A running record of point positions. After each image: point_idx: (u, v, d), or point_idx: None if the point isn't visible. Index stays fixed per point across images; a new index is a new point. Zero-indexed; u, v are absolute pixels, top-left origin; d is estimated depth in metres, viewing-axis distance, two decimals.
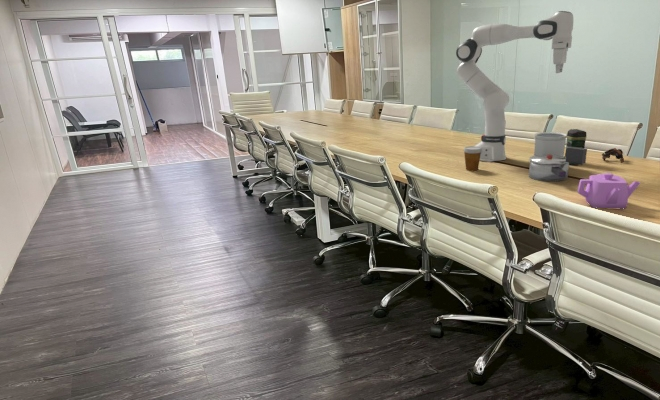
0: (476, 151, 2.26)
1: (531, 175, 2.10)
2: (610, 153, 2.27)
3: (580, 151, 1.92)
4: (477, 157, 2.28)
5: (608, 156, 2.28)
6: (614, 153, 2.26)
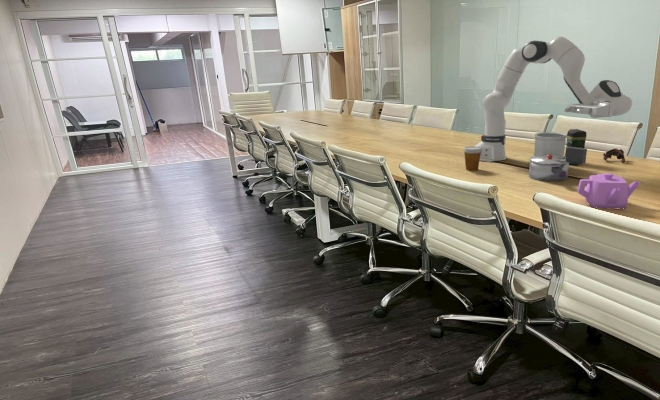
0: (476, 151, 2.26)
1: (531, 175, 2.10)
2: (611, 153, 2.26)
3: (580, 151, 1.92)
4: (477, 157, 2.28)
5: (609, 156, 2.27)
6: (615, 153, 2.26)
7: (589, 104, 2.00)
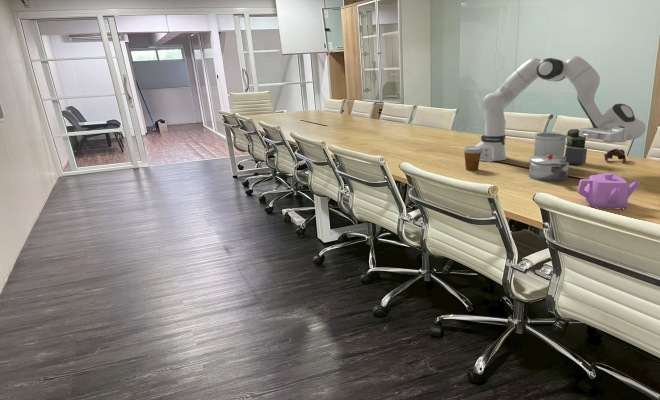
0: (476, 151, 2.26)
1: (531, 175, 2.10)
2: (612, 154, 2.26)
3: (580, 151, 1.92)
4: (477, 157, 2.28)
5: (610, 157, 2.26)
6: (616, 154, 2.25)
7: (602, 129, 1.99)
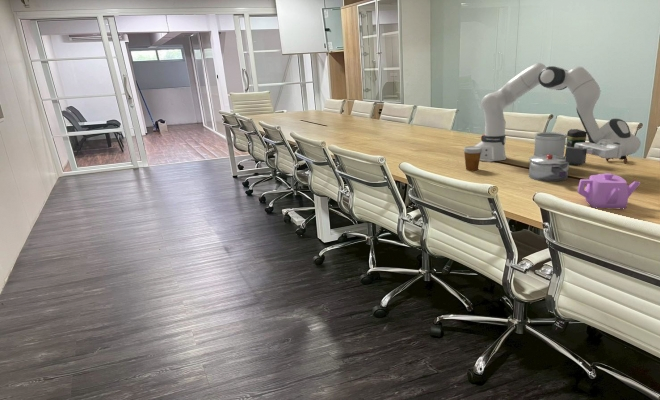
0: (476, 151, 2.26)
1: (531, 175, 2.10)
2: None
3: (580, 151, 1.92)
4: (477, 157, 2.28)
5: None
6: None
7: (597, 144, 1.99)
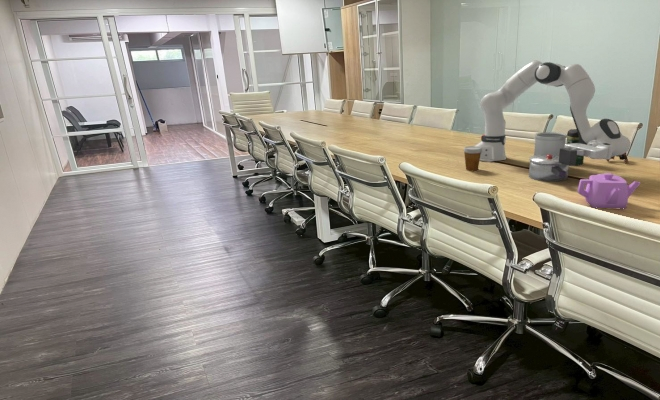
0: (476, 151, 2.26)
1: (531, 175, 2.10)
2: None
3: (569, 152, 1.91)
4: (477, 157, 2.28)
5: (612, 157, 2.25)
6: None
7: (587, 145, 1.98)
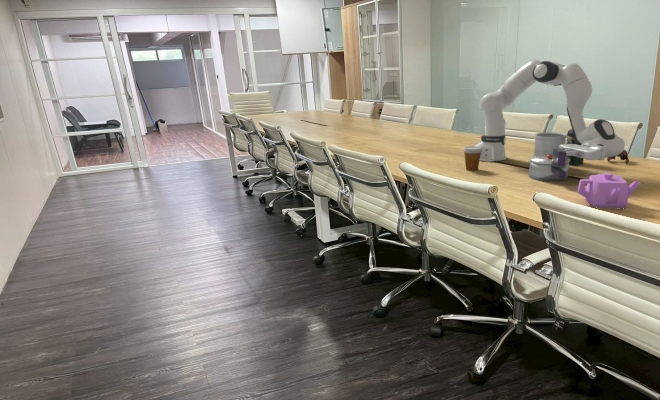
0: (476, 151, 2.26)
1: (531, 175, 2.10)
2: None
3: (558, 152, 1.92)
4: (477, 157, 2.28)
5: (613, 157, 2.25)
6: (619, 154, 2.23)
7: (581, 146, 1.97)
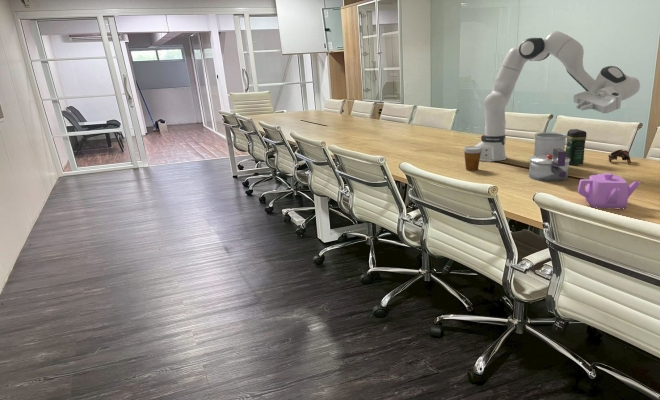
0: (476, 151, 2.26)
1: (531, 175, 2.10)
2: (617, 154, 2.23)
3: (557, 152, 1.92)
4: (477, 157, 2.28)
5: (615, 157, 2.24)
6: (621, 154, 2.22)
7: (596, 95, 1.99)
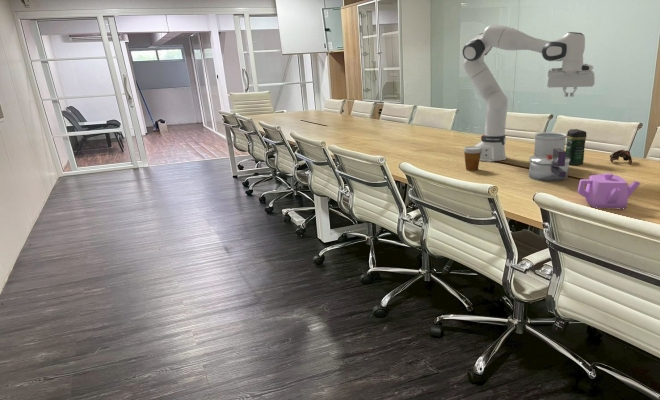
0: (476, 151, 2.26)
1: (531, 175, 2.10)
2: (619, 155, 2.22)
3: (557, 152, 1.92)
4: (477, 157, 2.28)
5: (617, 158, 2.23)
6: (623, 155, 2.22)
7: (567, 74, 2.07)
